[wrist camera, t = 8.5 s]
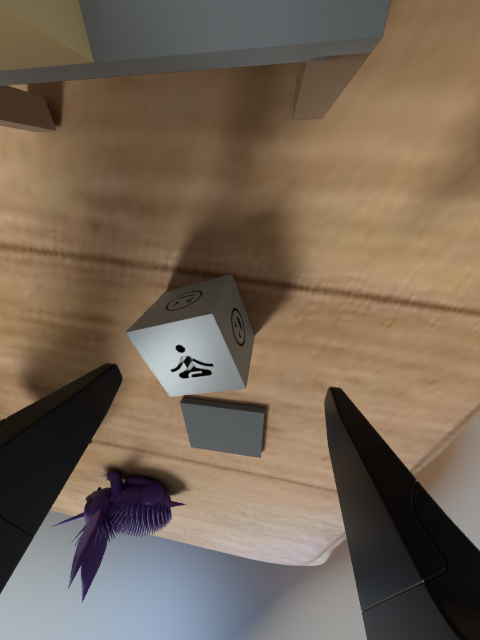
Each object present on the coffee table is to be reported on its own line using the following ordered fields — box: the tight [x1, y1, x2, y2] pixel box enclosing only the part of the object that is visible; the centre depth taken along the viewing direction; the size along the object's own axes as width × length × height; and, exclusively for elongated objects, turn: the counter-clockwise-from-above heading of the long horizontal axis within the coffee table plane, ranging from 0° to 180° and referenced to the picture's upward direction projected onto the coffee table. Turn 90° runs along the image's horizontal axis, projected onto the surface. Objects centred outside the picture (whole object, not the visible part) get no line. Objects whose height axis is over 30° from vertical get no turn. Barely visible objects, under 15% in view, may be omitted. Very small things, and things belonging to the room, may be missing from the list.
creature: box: [54, 471, 186, 601], centre depth 31 cm, size 9×18×12 cm, turn 89°
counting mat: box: [180, 398, 265, 458], centre depth 23 cm, size 8×8×1 cm
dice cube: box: [125, 274, 255, 397], centre depth 14 cm, size 5×5×5 cm
